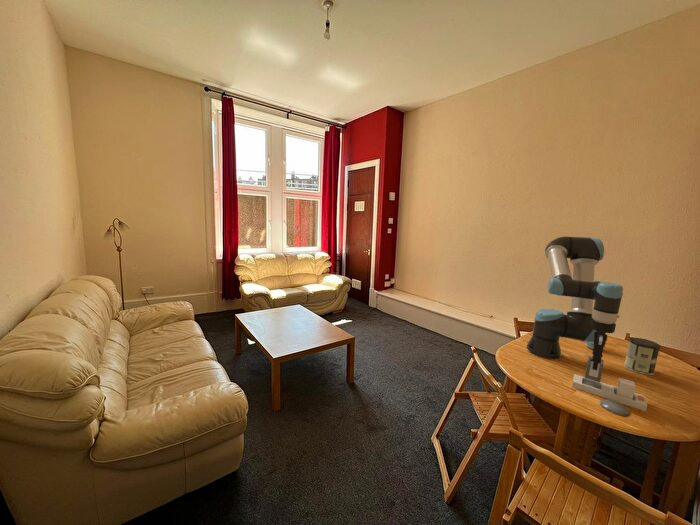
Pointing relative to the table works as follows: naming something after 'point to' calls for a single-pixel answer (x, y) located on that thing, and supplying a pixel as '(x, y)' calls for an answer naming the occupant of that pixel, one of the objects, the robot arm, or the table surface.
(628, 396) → the white plug
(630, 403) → the strip
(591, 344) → the beverage can
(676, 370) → the table surface
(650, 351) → the coffee can
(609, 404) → the grey disc
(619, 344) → the table surface
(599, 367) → the block
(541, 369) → the table surface
